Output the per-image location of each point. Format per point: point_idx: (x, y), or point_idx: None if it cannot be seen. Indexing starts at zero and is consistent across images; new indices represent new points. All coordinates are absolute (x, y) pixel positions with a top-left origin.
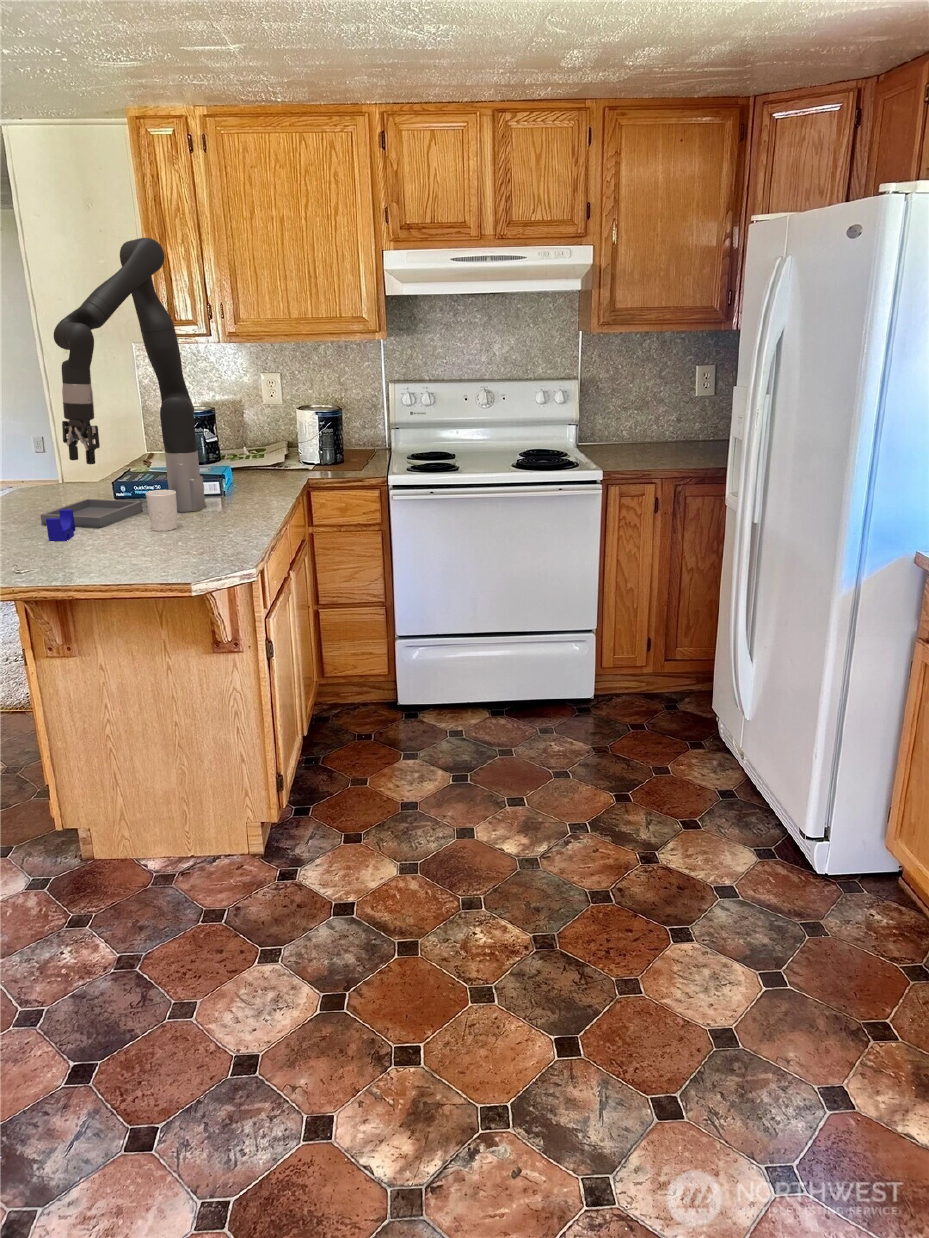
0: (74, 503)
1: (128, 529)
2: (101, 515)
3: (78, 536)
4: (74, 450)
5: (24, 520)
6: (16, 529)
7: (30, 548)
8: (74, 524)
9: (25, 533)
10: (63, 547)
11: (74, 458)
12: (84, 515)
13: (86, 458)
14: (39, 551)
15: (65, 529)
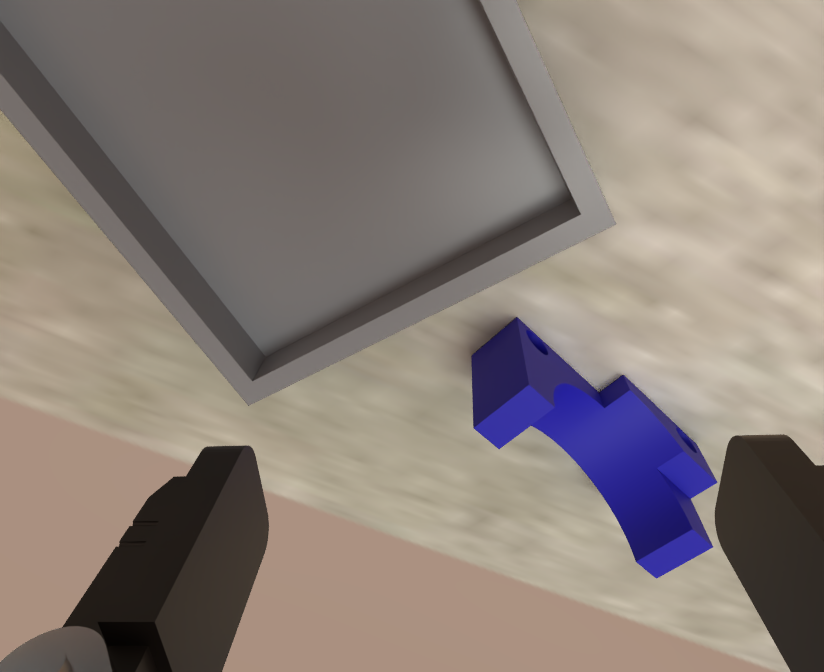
0: (7, 103)
1: (788, 79)
2: (562, 173)
3: (658, 369)
4: (208, 607)
5: (91, 376)
6: (276, 473)
7: (667, 573)
8: (522, 336)
9: (386, 483)
10: None
11: (252, 505)
12: (233, 125)
13: (764, 602)
14: None
15: (695, 472)
